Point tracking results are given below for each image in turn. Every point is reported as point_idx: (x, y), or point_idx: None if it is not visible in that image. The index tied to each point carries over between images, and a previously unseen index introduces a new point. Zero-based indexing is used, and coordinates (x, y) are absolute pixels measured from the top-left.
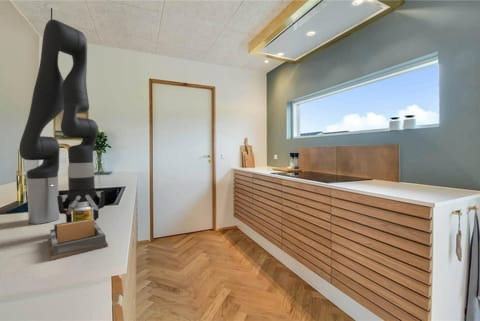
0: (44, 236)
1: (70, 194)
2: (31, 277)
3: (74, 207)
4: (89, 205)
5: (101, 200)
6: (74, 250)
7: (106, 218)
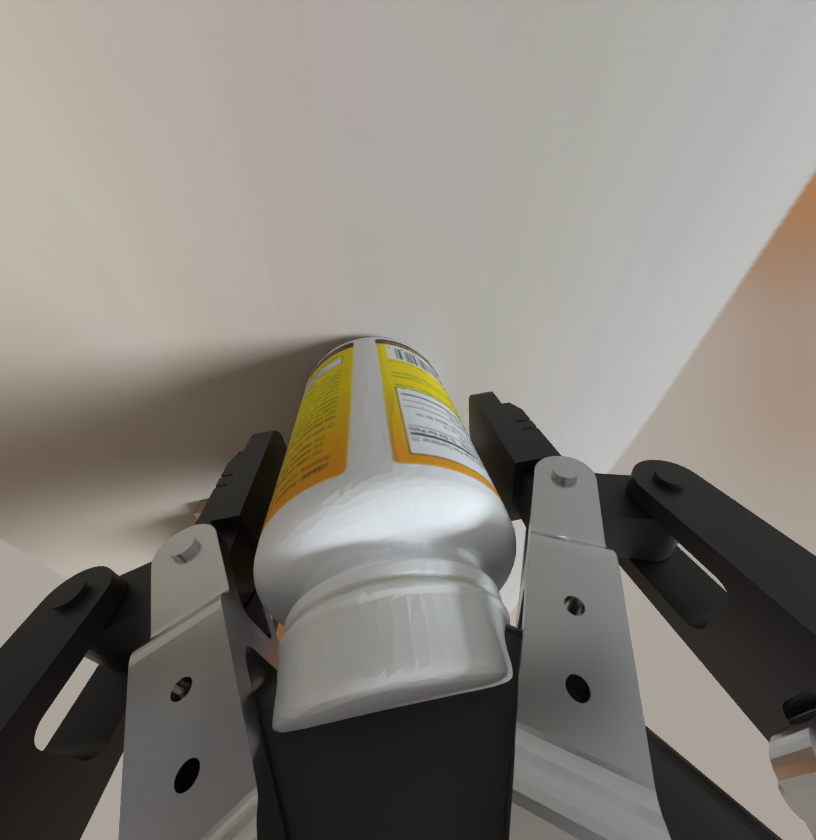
0: (116, 423)
1: None
2: None
3: (271, 603)
4: (498, 558)
5: (707, 654)
6: None
7: (651, 20)
